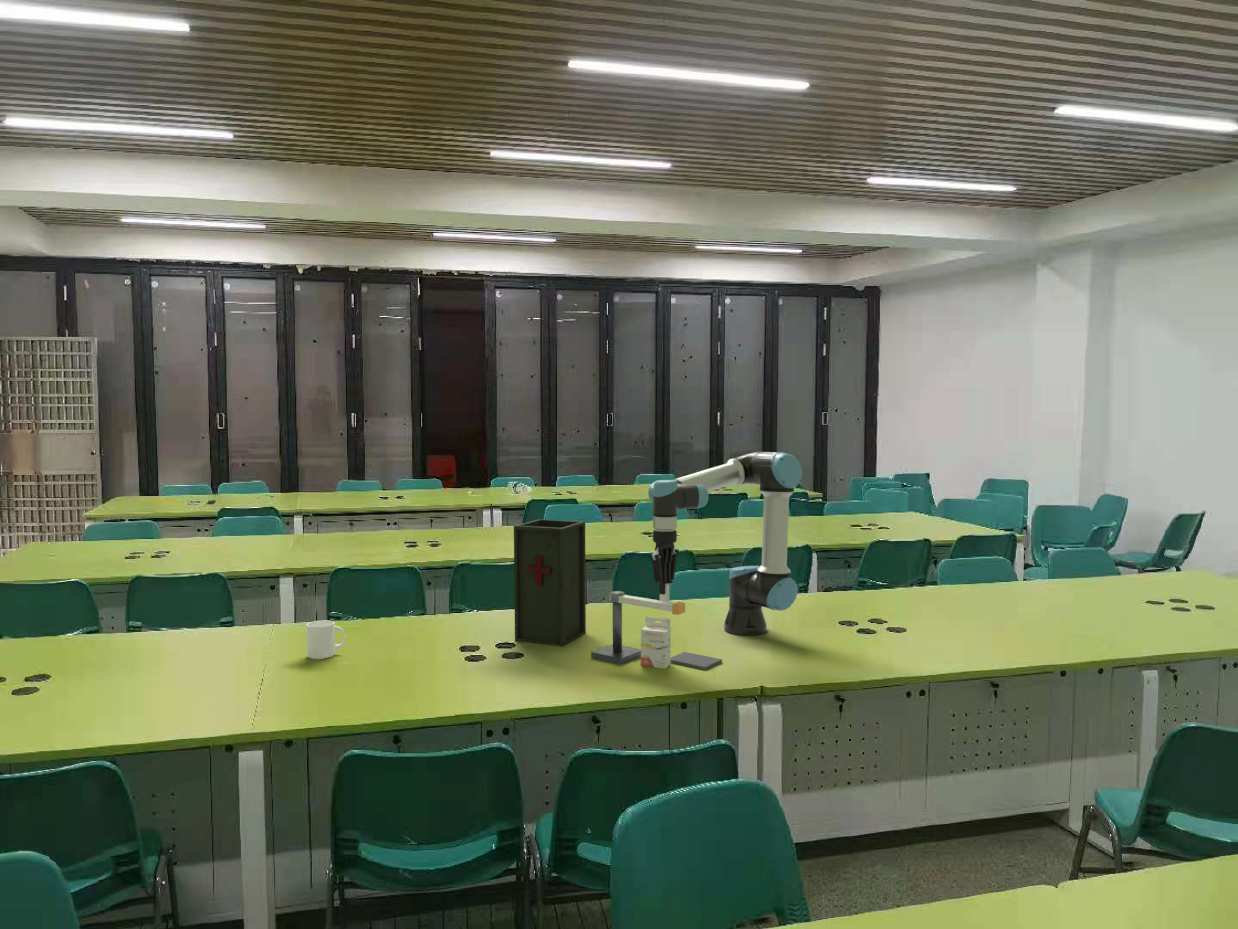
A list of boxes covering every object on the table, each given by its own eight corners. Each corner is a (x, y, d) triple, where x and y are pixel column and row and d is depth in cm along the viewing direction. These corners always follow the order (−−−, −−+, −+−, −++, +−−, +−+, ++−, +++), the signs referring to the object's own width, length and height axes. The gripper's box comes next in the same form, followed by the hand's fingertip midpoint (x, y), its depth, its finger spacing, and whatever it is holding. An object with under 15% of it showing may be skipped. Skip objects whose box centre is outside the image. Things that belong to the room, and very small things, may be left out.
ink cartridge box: (640, 666, 267) (640, 619, 266) (644, 662, 272) (645, 616, 271) (666, 669, 264) (666, 622, 263) (671, 664, 269) (671, 618, 268)
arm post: (613, 649, 286) (613, 596, 284) (643, 655, 278) (643, 601, 277) (591, 658, 276) (591, 602, 275) (621, 664, 269) (621, 608, 268)
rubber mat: (684, 654, 280) (684, 651, 279) (721, 662, 271) (721, 659, 271) (667, 662, 272) (667, 659, 272) (705, 670, 263) (705, 667, 263)
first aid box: (514, 641, 296) (513, 525, 293) (539, 628, 313) (538, 519, 310) (563, 646, 289) (562, 528, 286) (585, 633, 306) (585, 521, 303)
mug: (348, 656, 279) (347, 623, 278) (309, 661, 273) (308, 628, 272) (343, 649, 286) (342, 617, 286) (305, 654, 281) (304, 622, 280)
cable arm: (607, 602, 276) (607, 593, 275) (616, 600, 279) (615, 590, 279) (677, 615, 259) (677, 604, 259) (685, 612, 263) (685, 601, 263)
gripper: (666, 526, 277) (666, 598, 278) (642, 530, 266) (642, 606, 268) (686, 528, 272) (685, 601, 274) (663, 533, 262) (662, 609, 263)
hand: (664, 603), depth 271 cm, fingers closed
